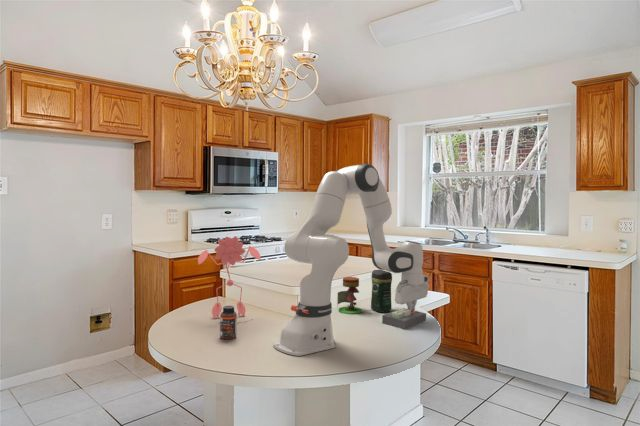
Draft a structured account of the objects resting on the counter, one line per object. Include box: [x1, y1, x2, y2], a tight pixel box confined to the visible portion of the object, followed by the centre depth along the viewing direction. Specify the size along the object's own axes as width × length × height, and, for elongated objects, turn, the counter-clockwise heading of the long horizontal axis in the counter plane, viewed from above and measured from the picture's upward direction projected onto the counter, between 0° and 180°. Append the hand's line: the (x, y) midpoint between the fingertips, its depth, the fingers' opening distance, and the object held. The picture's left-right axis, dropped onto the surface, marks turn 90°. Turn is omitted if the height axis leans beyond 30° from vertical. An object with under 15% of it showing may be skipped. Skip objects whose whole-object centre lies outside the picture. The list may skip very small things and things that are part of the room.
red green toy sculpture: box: [336, 276, 363, 315], centre depth 196 cm, size 12×13×15 cm
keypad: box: [381, 307, 427, 330], centre depth 179 cm, size 16×11×3 cm
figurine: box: [197, 235, 261, 325], centre depth 179 cm, size 15×26×35 cm, turn 105°
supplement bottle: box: [219, 305, 238, 340], centre depth 158 cm, size 6×6×11 cm
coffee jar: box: [370, 269, 393, 313], centre depth 197 cm, size 10×8×19 cm
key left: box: [391, 310, 404, 319], centre depth 176 cm, size 4×4×3 cm
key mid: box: [398, 308, 411, 316], centre depth 179 cm, size 4×4×3 cm
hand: (411, 310), depth 183 cm, fingers closed, pressing on key right
